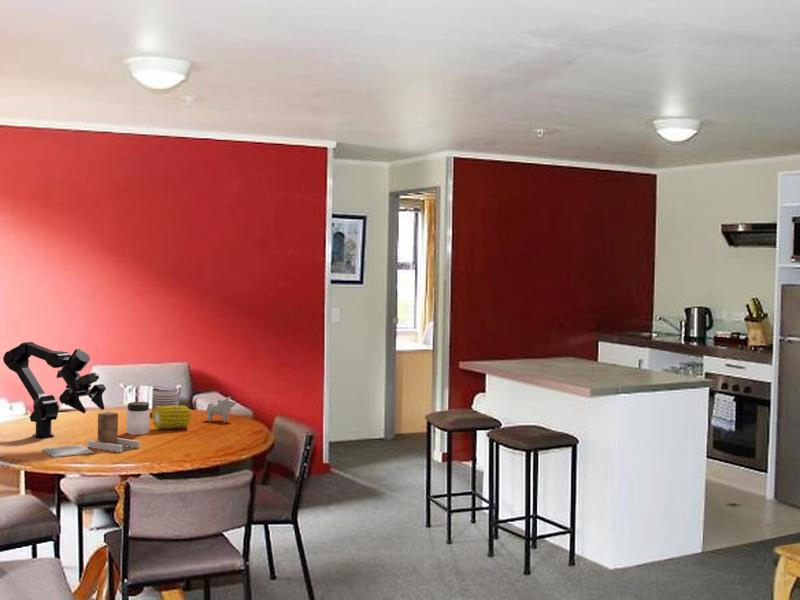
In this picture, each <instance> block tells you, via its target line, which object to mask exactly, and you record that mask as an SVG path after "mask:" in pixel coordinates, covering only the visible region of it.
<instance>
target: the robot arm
mask: <svg viewBox="0 0 800 600" xmlns="http://www.w3.org/2000/svg"><path fill="white" fill-rule="evenodd" d="M31 356H33V357H35V358H37V359H40V360H44V361H45V362H46V364H47V365H48V366H49V367H51V368H53V369H59V368H61V369H59V370H57V374H56V378H57V379H59V378H62V379H63V380H64V382H65V383H66V386H65V388H66V389H64V390H63V392H62V393H61V394H60V395H59V397H58V398H59V399H58V400H59V402H60V403H61V405H65V406H68V407H71V408H72V409H75V410H77V411H79V412H81V413H82V414H86V413H87V410H86V408H85V406H84V405H83V403H82V402H81V401H82V400H80V397H86V396H88V398H90V401H91V402H92V403H93V404H95V406H97V407H98V408H99V409H100V410H102V411H104V410H105V404H104V400H103V394H104V392H105V391H106V390H107V388H106V386H105V385H104V384H103V383H102V384H101V383H100V384H94V385H93V386H92V384H93V383H96V382H98V380H99V379H100V376H99V374H98V373H97V371H92V372H90V373H87V374H84V375H81V374H80V373H79V372H81V371H83V369H84V368H85V367H86V366H87V365H88V363H89V362H90V361H91V356H90V355H89V354H88V353H87V352H85V351H82V349H80V348H76V349H74V351H73V352H72V354H70V353H69V352H67V351H62V350H52V349H50V348H46V347H44V346H41V345H39V344H37V343H35V342H33V341H26V342H24V341H23V342H21V343H20V344H19V345H18V346H16V347H14V348H12V349H9V351H8V350H7V351H6V352H5V353H4V355H3V357H2V359H3V363H4V364H5V366H6V367H7V369H9V370H11V371H12V372H14V373H16V375H17V376H18V378H19V379H20V382H22V384H23V386H24V387H25V389H26V391H27V392H28V394H29V396H30V397H31V400H32V401H33V404H32V405H33V407H32V409H33V411H32V413H31V414H30V415H29V420H30V422H33V423H35V433H32V437H34V438H36V439H41V438H52V437H55V435H54V434H53V433H52V421H54V420H55V421H56V420H57V418H58V415H59V412H60V406H59V402H58V400H56V397H55V396H54V395H53V394H51V395H50V394H49V395H48V394H46V393H45V391H44V389H43V388H42V386H41V385H40V383H39V381H38V379H37V378H36V376H35V375H34V373H33V371H32V370H31V369H30V367H29V362H30V360H29V359H30V358H31ZM89 388H91V389H89Z"/></svg>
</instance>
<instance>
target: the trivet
mask: <svg viewBox="0 0 800 600" xmlns="http://www.w3.org/2000/svg"><path fill="white" fill-rule="evenodd" d="M43 450H44V451H45V453H46V452H47V453H48V454H47V453H46V454H47V455H49V454H50V455H51V456H50V455H49V456H50V457H51V458H53V457H56V458H63V457H62V456H66V457H72V456H71V455H75V456H81V455H82V454H85V455H90V454H89V453H94V454H95V452H94V451H93V450H91V448H88V447H86V446H84V445H83V444H77V445H65V446H57V447H46V448H42V451H43ZM44 451H43V452H44ZM82 456H83V455H82Z"/></svg>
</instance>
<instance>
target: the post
mask: <svg viewBox="0 0 800 600" xmlns="http://www.w3.org/2000/svg"><path fill="white" fill-rule="evenodd" d="M118 429H119V413H118V412H110V411H106V412H99V413H97V442H104V443H110V444H116V445H117V444H118V438H119V437H118V434H119V433H118V431H119V430H118Z"/></svg>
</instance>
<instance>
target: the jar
mask: <svg viewBox="0 0 800 600" xmlns="http://www.w3.org/2000/svg"><path fill="white" fill-rule="evenodd" d="M149 403H150V402H147V401H133V402H128V403H127V409H126V433H127V434H128V435H131V436H132V435H133V436H135V435H136V436H137V435H139V436H140V435H147V434H149V433H150V424H151V423H150V419H151V418H150V417H151V413H150V412H151V410H150V409H149V408H150V404H149Z"/></svg>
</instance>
